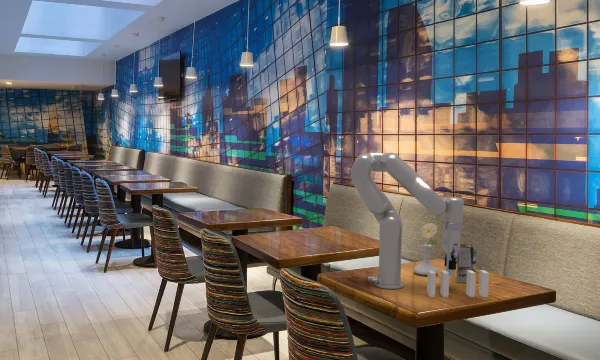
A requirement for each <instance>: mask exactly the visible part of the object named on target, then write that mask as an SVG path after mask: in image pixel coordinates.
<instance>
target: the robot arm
mask: <svg viewBox="0 0 600 360" xmlns="http://www.w3.org/2000/svg"><path fill="white" fill-rule="evenodd" d="M374 172H377V173H381V172H383V173H384V172H385V173H387V174H388V175H389V176H390V177H392V178H393V179H394V180H395V181H396V183H398V184H399V185H400V186H401V187H402V188H403V189H404V191H406V192H407V193H409V194H410V195H411V196H413V197H414V198H415V199H416V200H417V202H419V203H420V204H421V205H422V206H423V207H424V208H426V210H428V212H430V213H431V214H432V215H435V216H440V215H443V214H444V220H443V221H444V222H443V230H444V231H443V238H442V245H441V249H442V250H443V251H444V267H446V262H447V253H450V260H449V266H448V269H449V270H454V271H457V256H458V253H459V250H460V244H461V231H462V230H463V219H464V218H463V217H464V206H465V205H464V203H465V202H464V199H463V198H461V197H457V196H449V197H448V196H441V195H439V194H438V193H436V191H434V189H432V188H431V186H430V185H428V184H427V183H426V181H425V180H424V179H423V178H422V176H421V175H420V174H419V173H418V172H416V171H415V169H413V168H412V167H411V166H410V165H409V164H408V163H407V162H405V160H403V159H402V158H401V157H400V156H399V155H398V154H397V153H394V152H364V153H361V154H359V155H358V156H356V158H355V160H354V162H353V164H352V167H351V171H350V177H351V178H350V179H351V182H352V184H353V186H354V188H355V189H356V192H357V193H358V195H359V196H360V198H361V200H362V201H363V203H364V204H365V206H366V208H367V210H368V211H369V212H370V213H371V214H372V215H373V217H374V218H375V219H376V220H377V222H378V225H379V246H378V247H379V248H378V249H379V250H378V273H376V275H374V276H372V275H371V276H370V275H368V276H367V281H369V282H374V286H376V287H378V288H381V289H386V290H388V289H390V290H397V289H401V288H402V289H403V288H404V287H405V282H403V281H401V278H402V238H403V222H402V218H401V216H400V215H399V213H398V212H397V210H396V208H395V206H393V204H392V202H391V200H390V199H389V198H388V196H387V195H386V194H385V193H384V192H382V191H381V190H380V188H379V187H378V185H377V183H376V182H375V181H374V179H373V177H372V173H374ZM451 252H454V253H451ZM452 255H453V256H452Z"/></svg>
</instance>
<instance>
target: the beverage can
mask: <svg viewBox="0 0 600 360" xmlns="http://www.w3.org/2000/svg"><path fill="white" fill-rule="evenodd" d="M472 271H473V272H475V273H476V272H477V250H476V248H474V247H473V270H472Z"/></svg>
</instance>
